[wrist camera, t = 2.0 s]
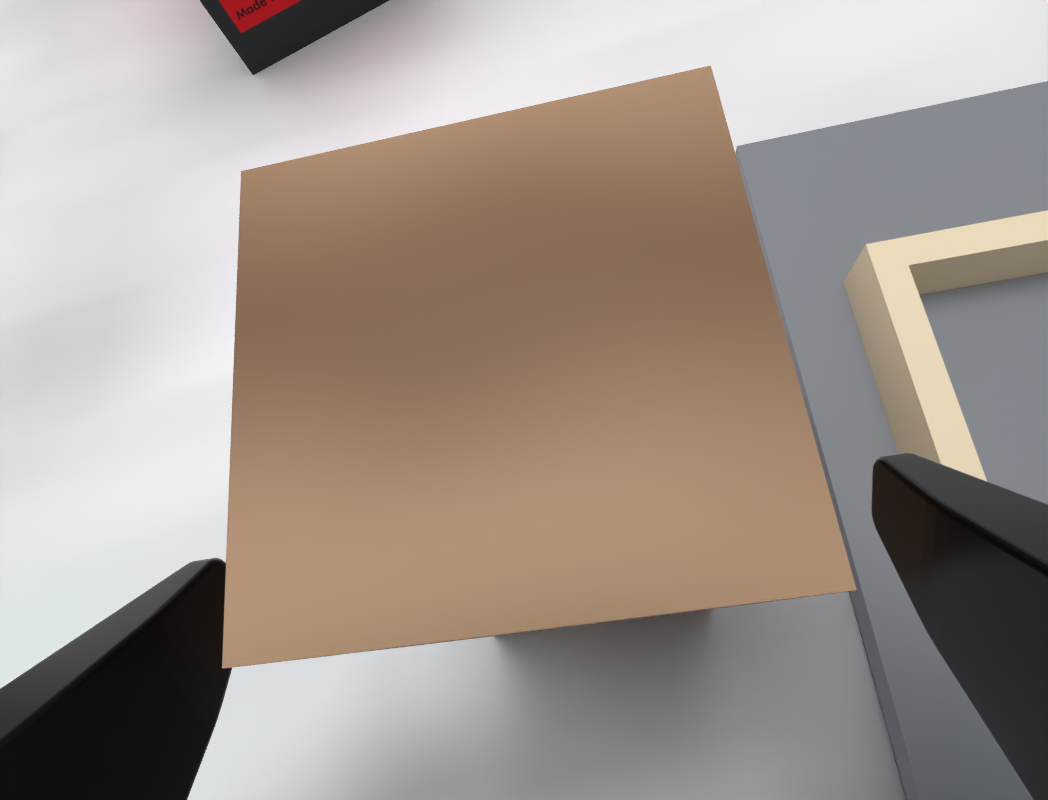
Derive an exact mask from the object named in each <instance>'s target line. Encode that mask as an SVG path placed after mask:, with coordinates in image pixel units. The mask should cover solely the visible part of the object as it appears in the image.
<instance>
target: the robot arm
mask: <svg viewBox="0 0 1048 800" xmlns="http://www.w3.org/2000/svg"><path fill="white" fill-rule="evenodd" d="M871 512H872V518H873V522H874V525H875V528H876V530H877V532H878V535H879V537H880V539H881V541H882V543H883V545H884V547H885V549H886V551H887V553H888V555H889V557H890V559H891V561H892V563H893V565H894V567H895V569H896V571H897V573H898V575H899V577H900V579H901V582H902V584H903V586H904V588H905V590H906V592H907V594H908V596H909V598H910V600H911V602H912V604H913V606H914V608H915V610H916V612H917V614H918V616H919V618H920V620H921V622H922V624H923V626H924V628H925V630H926V631H927V633H928V635H929V636H930V638H931V640H932V641H933V643H934V645H935V646H936V648H937V650H938V651H939V653H940V654H941V656H942V658H943V659H944V661H945V662H946V664H947V665H948V667H949V669H950V670H951V672H952V673H953V675H954V676H955V678H956V679H957V681H958V683H959V684H960V686H961V687H962V689H963V690H964V692H965V694H966V695H967V697H968V698H969V700H970V701H971V703H972V704H973V706H974V708H975V709H976V711H977V712H978V714H979V715H980V717H981V719H982V720H983V722H984V723H985V725H986V726H987V728H988V729H989V731H990V733H991V734H992V736H993V737H994V739H995V740H996V742H997V744H998V745H999V747H1000V748H1001V750H1002V751H1003V753H1004V754H1005V756H1006V758H1007V759H1008V761H1009V762H1010V764H1011V765H1012V767H1013V769H1014V770H1015V772H1016V773H1017V775H1018V776H1019V778H1020V780H1021V781H1022V783H1023V784H1024V786H1025V787H1026V789H1027V790H1028V792H1029V794H1030V795H1031V797H1032V798H1033V800H1048V504H1045V503H1043V502H1040V501H1037V500H1035V499H1032V498H1029V497H1027V496H1024V495H1021V494H1019V493H1016V492H1013V491H1011V490H1008V489H1005V488H1003V487H1000V486H998V485H995V484H992V483H990V482H987V481H984V480H982V479H979V478H976V477H974V476H971V475H968V474H966V473H963V472H960V471H958V470H955V469H952V468H950V467H947V466H944V465H942V464H939V463H936V462H934V461H931V460H929V459H926V458H923V457H921V456H918V455H915V454H912V453H903V454H896V455H890V456H883V457H879V458H878V459H877V460H876V461H875V462H874V465H873V471H872V505H871ZM225 578H226V563H225V562H224V561H223V560H221V559H219V558H212V559H205V560H198V561H193V562H190V563H189V564H187V565H185V566H184V567H182V568H181V569H179V570H178V571H176V572H175V573H173V574H172V575H170V576H169V577H167V578H166V579H164V580H163V581H161V582H160V583H158V584H157V585H155V586H154V587H152V588H151V589H149V590H148V591H146V592H145V593H143V594H142V595H140V596H139V597H137V598H136V599H134V600H133V601H131V602H130V603H128V604H127V605H125V606H124V607H122V608H121V609H119V610H118V611H116V612H115V613H113V614H112V615H110V616H109V617H107V618H106V619H104V620H103V621H101V622H100V623H98V624H97V625H95V626H94V627H92V628H91V629H89V630H88V631H86V632H85V633H83V634H82V635H80V636H79V637H77V638H76V639H74V640H73V641H71V642H70V643H68V644H67V645H65V646H64V647H62V648H61V649H59V650H58V651H56V652H55V653H53V654H52V655H50V656H49V657H47V658H46V659H44V660H43V661H41V662H40V663H38V664H37V665H35V666H34V667H32V668H31V669H29V670H28V671H26V672H25V673H23V674H22V675H20V676H19V677H17V678H16V679H14V680H13V681H11V682H10V683H8V684H7V685H5V686H4V687H2V688H1V689H0V800H187V798H188V796H189V793H190V791H191V788H192V785H193V783H194V780H195V777H196V775H197V772H198V770H199V767H200V764H201V762H202V759H203V757H204V754H205V751H206V749H207V746H208V743H209V741H210V738H211V736H212V733H213V730H214V727H215V724H216V722H217V719H218V716H219V712H220V709H221V706H222V702H223V699H224V696H225V692H226V688H227V685H228V681H229V677H230V674H231V670H232V667H231V668H223V669H222V656H223V630H224V604H225Z"/></svg>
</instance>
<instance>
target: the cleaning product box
mask: <svg viewBox="0 0 1048 800" xmlns="http://www.w3.org/2000/svg"><path fill="white" fill-rule="evenodd" d="M200 1H201V3H202V4H203V6H204V7H205V8H206V10H207V11H208V13H209V14H210V15H211V17H212V18H213V20H214V21H215V22H216V24H217V25H218V27H219V28H220V29H221V31H222V32H223V34H224V35H225V36H226V38H227V39H228V41H229V42H230V43H231V45H232V46H233V48H234V49H235V50H236V52H237V53H238V54H239V56H240V57H241V59H242V60H243V61H244V63H245V64H246V66H247V67H248V68H249V70H250V71H251V73H252V74H253V75H254V74H256V73H258V72H260V71H262V70H263V69H265V68H267V67H269V66H271V65H273V64H274V63H276V62H278V61H280V60H282V59H283V58H285V57H287V56H289V55H291V54H292V53H294V52H296V51H298V50H300V49H302V48H303V47H305V46H307V45H309V44H311V43H312V42H314V41H316V40H318V39H320V38H322V37H323V36H325V35H327V34H329V33H331V32H332V31H334V30H336V29H338V28H340V27H342V26H343V25H345V24H347V23H349V22H351V21H352V20H354V19H356V18H358V17H360V16H362V15H363V14H365V13H367V12H369V11H371V10H372V9H374V8H376V7H378V6H380V5H382V4H383V3H385V2H387V1H389V0H200Z"/></svg>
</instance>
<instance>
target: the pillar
mask: <svg viewBox="0 0 1048 800" xmlns="http://www.w3.org/2000/svg"><path fill="white" fill-rule="evenodd" d="M854 590H857V589H856V585H855V582H854V578H853V575H852V571H851V567H850V564H849V560H848V557H847V553H846V549H845V546H844V542H843V539H842V535H841V532H840V528H839V524H838V521H837V517H836V514H835V510H834V506H833V503H832V499H831V496H830V492H829V488H828V485H827V481H826V478H825V474H824V471H823V467H822V463H821V460H820V456H819V453H818V449H817V445H816V442H815V438H814V435H813V431H812V427H811V424H810V420H809V417H808V413H807V410H806V406H805V402H804V399H803V395H802V392H801V388H800V384H799V381H798V377H797V374H796V370H795V366H794V363H793V359H792V356H791V352H790V349H789V345H788V341H787V338H786V334H785V331H784V327H783V323H782V320H781V316H780V313H779V309H778V305H777V302H776V298H775V295H774V291H773V288H772V284H771V280H770V277H769V273H768V270H767V266H766V262H765V259H764V255H763V252H762V248H761V244H760V241H759V237H758V234H757V230H756V227H755V223H754V219H753V216H752V212H751V209H750V205H749V201H748V198H747V194H746V191H745V187H744V183H743V180H742V176H741V173H740V169H739V166H738V162H737V158H736V155H735V151H734V148H733V144H732V140H731V137H730V133H729V130H728V126H727V122H726V119H725V115H724V112H723V108H722V105H721V101H720V97H719V94H718V90H717V87H716V83H715V79H714V76H713V72H712V69H711V66H707V67H703V68H698V69H694V70H689V71H685V72H680V73H676V74H672V75H667V76H663V77H658V78H654V79H649V80H645V81H640V82H636V83H632V84H627V85H623V86H618V87H614V88H609V89H605V90H601V91H596V92H592V93H587V94H583V95H578V96H574V97H569V98H565V99H561V100H556V101H552V102H547V103H543V104H538V105H534V106H529V107H525V108H521V109H516V110H512V111H507V112H503V113H498V114H494V115H489V116H485V117H481V118H476V119H472V120H467V121H463V122H458V123H454V124H449V125H445V126H441V127H436V128H432V129H427V130H423V131H418V132H414V133H409V134H405V135H401V136H396V137H392V138H387V139H383V140H378V141H374V142H370V143H365V144H361V145H356V146H352V147H347V148H343V149H338V150H334V151H330V152H325V153H321V154H316V155H312V156H307V157H303V158H298V159H294V160H290V161H285V162H281V163H276V164H272V165H267V166H263V167H258V168H254V169H250V170H245V171H241V191H240V217H239V243H238V269H237V294H236V320H235V346H234V372H233V398H232V424H231V449H230V475H229V501H228V527H227V553H226V578H225V604H224V630H223V656H222V669H223V668H231V667H240V666H248V665H256V664H265V663H273V662H281V661H290V660H298V659H307V658H315V657H323V656H332V655H340V654H348V653H357V652H365V651H373V650H382V649H390V648H399V647H407V646H415V645H424V644H432V643H440V642H449V641H457V640H465V639H474V638H482V637H490V636H499V635H507V634H515V633H523V632H531V631H539V630H547V629H555V628H564V627H572V626H580V625H588V624H596V623H604V622H612V621H620V620H628V619H636V618H645V617H653V616H661V615H669V614H677V613H685V612H693V611H701V610H709V609H717V608H725V607H732V606H740V605H748V604H755V603H763V602H771V601H778V600H786V599H793V598H801V597H809V596H816V595H824V594H831V593H839V592H847V591H854Z"/></svg>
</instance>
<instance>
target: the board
mask: <svg viewBox="0 0 1048 800" xmlns="http://www.w3.org/2000/svg"><path fill="white" fill-rule="evenodd" d="M735 155H736V158H737V162H738V166H739V169H740V173H741V176H742V180H743V183H744V187H745V191H746V194H747V198H748V201H749V205H750V209H751V212H752V216H753V219H754V223H755V227H756V230H757V234H758V237H759V241H760V244H761V248H762V252H763V255H764V259H765V262H766V266H767V270H768V273H769V277H770V280H771V284H772V288H773V291H774V295H775V298H776V302H777V305H778V309H779V313H780V316H781V320H782V323H783V327H784V331H785V334H786V338H787V341H788V345H789V349H790V352H791V356H792V359H793V363H794V366H795V370H796V374H797V377H798V381H799V384H800V388H801V392H802V395H803V399H804V402H805V406H806V410H807V413H808V417H809V420H810V424H811V427H812V431H813V435H814V438H815V442H816V445H817V449H818V453H819V456H820V460H821V463H822V467H823V471H824V474H825V478H826V481H827V485H828V488H829V492H830V496H831V499H832V503H833V506H834V510H835V514H836V517H837V521H838V524H839V528H840V532H841V535H842V539H843V542H844V546H845V549H846V553H847V557H848V560H849V564H850V567H851V571H852V575H853V578H854V582H855V585H856V589H857V590H854V591H850V595H851V599H852V602H853V606H854V609H855V613H856V617H857V620H858V624H859V628H860V631H861V635H862V639H863V642H864V646H865V649H866V653H867V657H868V660H869V664H870V668H871V671H872V675H873V679H874V682H875V686H876V690H877V693H878V697H879V700H880V704H881V708H882V711H883V715H884V719H885V722H886V726H887V730H888V733H889V737H890V740H891V744H892V748H893V751H894V755H895V759H896V762H897V766H898V770H899V773H900V777H901V780H902V784H903V788H904V791H905V795H906V799H907V800H1033V798H1032V797H1031V795H1030V794H1029V792H1028V790H1027V789H1026V787H1025V786H1024V784H1023V783H1022V781H1021V780H1020V778H1019V776H1018V775H1017V773H1016V772H1015V770H1014V769H1013V767H1012V765H1011V764H1010V762H1009V761H1008V759H1007V758H1006V756H1005V754H1004V753H1003V751H1002V750H1001V748H1000V747H999V745H998V744H997V742H996V740H995V739H994V737H993V736H992V734H991V733H990V731H989V729H988V728H987V726H986V725H985V723H984V722H983V720H982V719H981V717H980V715H979V714H978V712H977V711H976V709H975V708H974V706H973V704H972V703H971V701H970V700H969V698H968V697H967V695H966V694H965V692H964V690H963V689H962V687H961V686H960V684H959V683H958V681H957V679H956V678H955V676H954V675H953V673H952V672H951V670H950V669H949V667H948V665H947V664H946V662H945V661H944V659H943V658H942V656H941V654H940V653H939V651H938V650H937V648H936V646H935V645H934V643H933V641H932V640H931V638H930V636H929V635H928V633H927V631H926V630H925V628H924V626H923V624H922V622H921V620H920V618H919V616H918V614H917V612H916V610H915V608H914V606H913V604H912V602H911V600H910V598H909V596H908V594H907V592H906V590H905V588H904V586H903V584H902V582H901V579H900V577H899V575H898V573H897V571H896V569H895V567H894V565H893V563H892V561H891V559H890V557H889V555H888V553H887V551H886V549H885V547H884V545H883V543H882V541H881V539H880V537H879V535H878V532H877V530H876V528H875V525H874V522H873V518H872V512H871V505H872V471H873V465H874V462H875V461H876V460H877V459H878V458H879V457H883V456H890V455H896V454H903V453H912V454H915V455H918V456H921V457H923V458H926V459H929V460H931V461H934V462H936V463H939V464H942V465H944V466H947V467H950V468H952V469H955V470H958V471H960V472H963V473H966V474H968V475H971V476H974V477H976V478H979V479H982V480H984V481H987V482H990V483H992V484H995V485H998V486H1000V487H1003V488H1005V489H1008V490H1011V491H1013V492H1016V493H1019V494H1021V495H1024V496H1027V497H1029V498H1032V499H1035V500H1037V501H1040V502H1043V503H1045V504H1048V81H1047V82H1042V83H1037V84H1032V85H1028V86H1023V87H1018V88H1013V89H1008V90H1004V91H999V92H994V93H989V94H985V95H980V96H975V97H970V98H965V99H961V100H956V101H951V102H946V103H941V104H937V105H932V106H927V107H922V108H918V109H913V110H908V111H903V112H898V113H894V114H889V115H884V116H879V117H875V118H870V119H865V120H860V121H855V122H851V123H846V124H841V125H836V126H832V127H827V128H822V129H817V130H812V131H808V132H803V133H798V134H793V135H788V136H784V137H779V138H774V139H769V140H765V141H760V142H755V143H750V144H745V145H741V146H737V149H736V154H735Z"/></svg>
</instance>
